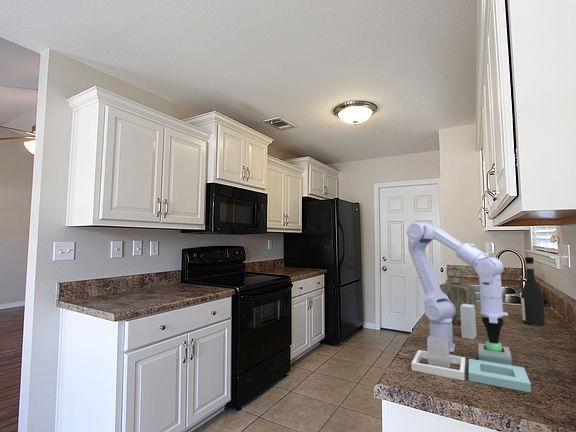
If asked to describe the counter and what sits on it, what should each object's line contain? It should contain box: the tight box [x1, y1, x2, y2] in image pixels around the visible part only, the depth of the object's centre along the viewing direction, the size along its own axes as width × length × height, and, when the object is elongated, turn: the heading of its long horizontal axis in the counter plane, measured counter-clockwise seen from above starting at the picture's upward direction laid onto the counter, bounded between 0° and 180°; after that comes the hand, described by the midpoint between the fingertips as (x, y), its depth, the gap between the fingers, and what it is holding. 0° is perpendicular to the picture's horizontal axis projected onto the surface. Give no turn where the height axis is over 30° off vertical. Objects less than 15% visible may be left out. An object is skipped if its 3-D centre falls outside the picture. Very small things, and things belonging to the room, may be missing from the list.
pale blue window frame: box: [468, 358, 532, 393], centre depth 84 cm, size 12×13×2 cm
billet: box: [426, 335, 451, 369], centre depth 91 cm, size 4×6×8 cm
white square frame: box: [410, 349, 466, 381], centre depth 91 cm, size 13×13×2 cm
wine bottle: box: [520, 256, 546, 326], centre depth 144 cm, size 8×8×30 cm
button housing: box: [477, 342, 513, 366], centre depth 95 cm, size 8×8×4 cm
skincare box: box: [460, 304, 477, 340], centre depth 122 cm, size 6×4×12 cm
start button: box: [485, 340, 502, 352], centre depth 95 cm, size 4×4×4 cm
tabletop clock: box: [439, 267, 477, 325], centre depth 143 cm, size 14×9×25 cm, turn 46°
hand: (493, 342), depth 96 cm, fingers closed, pressing on start button
